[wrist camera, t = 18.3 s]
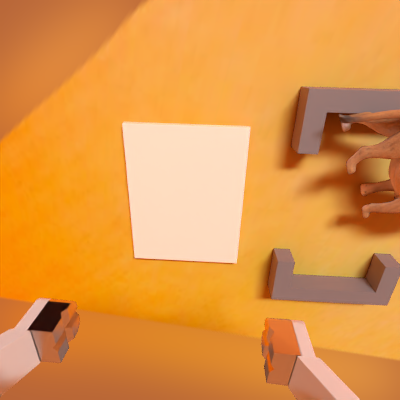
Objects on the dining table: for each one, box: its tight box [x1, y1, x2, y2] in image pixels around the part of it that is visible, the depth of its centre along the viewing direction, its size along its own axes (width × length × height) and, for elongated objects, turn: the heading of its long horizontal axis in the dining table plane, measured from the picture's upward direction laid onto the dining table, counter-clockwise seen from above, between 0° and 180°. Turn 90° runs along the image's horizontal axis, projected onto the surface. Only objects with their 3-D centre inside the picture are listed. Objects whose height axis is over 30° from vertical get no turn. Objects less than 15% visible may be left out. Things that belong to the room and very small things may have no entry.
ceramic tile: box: [122, 122, 250, 263], centre depth 25 cm, size 10×13×1 cm
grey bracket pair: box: [268, 87, 400, 305], centre depth 24 cm, size 11×19×2 cm, turn 179°
